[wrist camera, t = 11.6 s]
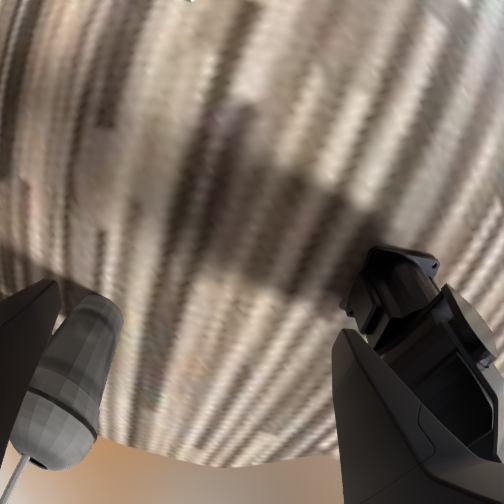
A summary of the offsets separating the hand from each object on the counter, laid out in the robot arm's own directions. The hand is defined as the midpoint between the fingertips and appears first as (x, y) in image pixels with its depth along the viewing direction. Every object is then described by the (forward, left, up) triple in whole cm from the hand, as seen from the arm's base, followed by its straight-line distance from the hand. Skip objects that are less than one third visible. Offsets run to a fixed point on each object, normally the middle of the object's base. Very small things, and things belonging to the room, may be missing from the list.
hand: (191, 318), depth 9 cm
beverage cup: (+10, +14, -13) cm, 22 cm away
